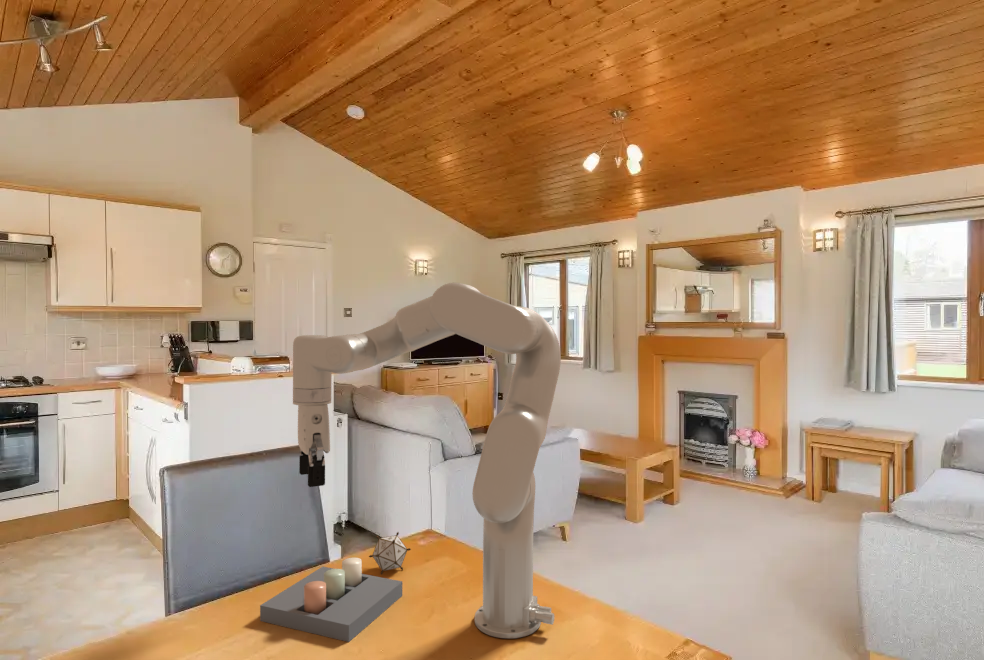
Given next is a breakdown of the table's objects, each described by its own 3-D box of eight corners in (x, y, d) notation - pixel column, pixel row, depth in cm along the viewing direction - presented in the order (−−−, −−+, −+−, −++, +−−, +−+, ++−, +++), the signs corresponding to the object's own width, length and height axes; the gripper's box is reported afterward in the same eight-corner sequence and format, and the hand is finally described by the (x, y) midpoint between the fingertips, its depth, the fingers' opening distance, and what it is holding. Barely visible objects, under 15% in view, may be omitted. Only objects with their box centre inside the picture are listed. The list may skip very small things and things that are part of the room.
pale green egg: (348, 595, 120) (348, 570, 120) (336, 604, 116) (336, 578, 116) (332, 591, 122) (332, 567, 121) (319, 600, 118) (319, 575, 118)
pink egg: (330, 608, 115) (330, 582, 114) (317, 618, 111) (317, 591, 111) (313, 605, 116) (313, 579, 116) (299, 614, 112) (299, 588, 112)
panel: (402, 595, 124) (402, 581, 124) (348, 641, 107) (348, 625, 107) (322, 579, 132) (322, 566, 131) (260, 620, 114) (260, 605, 114)
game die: (395, 588, 136) (405, 563, 130) (361, 574, 136) (369, 549, 130) (408, 556, 143) (418, 531, 138) (375, 543, 143) (383, 517, 138)
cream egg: (365, 582, 126) (365, 559, 126) (354, 590, 122) (354, 566, 122) (349, 579, 127) (349, 556, 127) (338, 587, 123) (338, 563, 123)
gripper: (340, 400, 115) (340, 488, 116) (322, 390, 131) (321, 467, 131) (300, 402, 112) (299, 493, 112) (286, 391, 127) (286, 471, 128)
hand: (311, 479), depth 122 cm, fingers open, 9 cm apart
